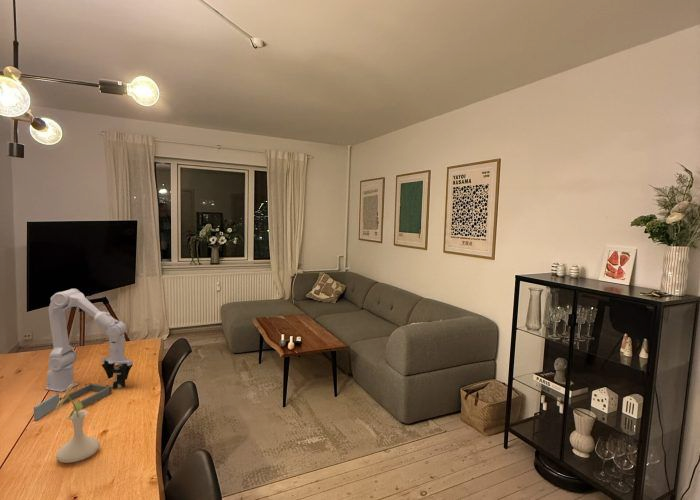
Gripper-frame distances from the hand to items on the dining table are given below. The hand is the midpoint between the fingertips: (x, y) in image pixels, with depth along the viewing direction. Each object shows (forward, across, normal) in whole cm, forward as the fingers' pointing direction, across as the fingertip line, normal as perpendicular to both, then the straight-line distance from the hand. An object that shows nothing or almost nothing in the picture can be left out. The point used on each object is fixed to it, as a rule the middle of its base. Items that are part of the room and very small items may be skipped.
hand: (117, 378), depth 165 cm
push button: (+4, 0, 0) cm, 4 cm away
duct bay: (+4, -3, -13) cm, 14 cm away
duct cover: (+4, -7, -25) cm, 27 cm away
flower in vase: (+4, +28, -43) cm, 51 cm away
